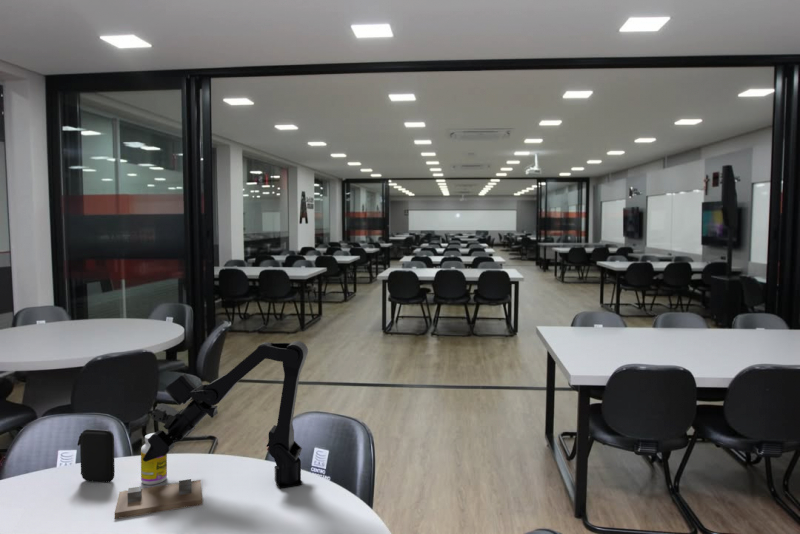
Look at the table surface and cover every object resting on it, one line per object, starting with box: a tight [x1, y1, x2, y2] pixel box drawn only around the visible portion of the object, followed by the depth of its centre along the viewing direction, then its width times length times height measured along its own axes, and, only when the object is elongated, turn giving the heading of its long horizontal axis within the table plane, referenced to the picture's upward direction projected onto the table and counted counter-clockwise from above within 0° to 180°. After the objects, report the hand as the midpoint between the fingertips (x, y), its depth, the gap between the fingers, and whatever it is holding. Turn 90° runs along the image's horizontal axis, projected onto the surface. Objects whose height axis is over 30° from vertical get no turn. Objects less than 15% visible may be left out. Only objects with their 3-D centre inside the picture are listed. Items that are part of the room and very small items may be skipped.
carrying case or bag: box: [77, 428, 115, 483], centre depth 152 cm, size 11×3×15 cm, turn 83°
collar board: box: [114, 478, 203, 520], centre depth 141 cm, size 20×12×4 cm, turn 112°
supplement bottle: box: [140, 432, 168, 485], centre depth 153 cm, size 7×7×13 cm
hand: (152, 453), depth 153 cm, fingers open, 9 cm apart
